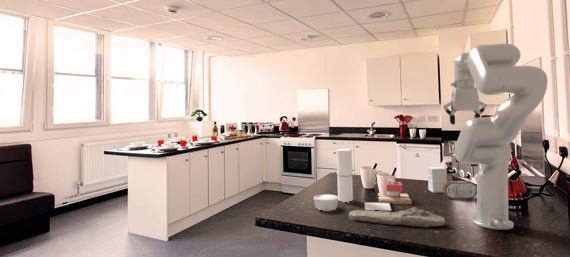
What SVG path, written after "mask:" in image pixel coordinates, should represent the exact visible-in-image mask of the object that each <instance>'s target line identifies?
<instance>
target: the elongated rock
mask: <svg viewBox="0 0 570 257" xmlns="http://www.w3.org/2000/svg"><path fill="white" fill-rule="evenodd" d="M348 219H349V220H351V221H360V222H367V223H373V224H382V225H383V224H384V225H391V226H392V225H402V226H407V227H409V226H410V227H420V228H421V227H422V228H430V227H442V226H445V223H446V219H445V218H444V217H443V216H440V215H437V214H436V213H435V214H434V213H433V212H431V211H428V210H426V211H425V210H424V209H419V208H417V207H416V206H415V207H410V208H408V209H405V210H399V211H375V210H362V209H355V210H351V211H349V212H348Z"/></svg>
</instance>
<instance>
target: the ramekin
mask: <svg viewBox="0 0 570 257" xmlns="http://www.w3.org/2000/svg"><path fill="white" fill-rule="evenodd" d="M313 201H314V202H313V203H314V207H315V209H316V208H317V209H318V210H317V209H316V210H317V211H320V210H323V211H322V212H331V211H332V210H333V211H335V210H336V209H337V208H338V202H339V201H338V195H335V194H328V193H327V194H316V195H314V196H313Z"/></svg>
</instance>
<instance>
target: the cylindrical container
mask: <svg viewBox="0 0 570 257" xmlns="http://www.w3.org/2000/svg"><path fill="white" fill-rule="evenodd" d="M352 152H353V150H352V149H350V148H340V149H336V166H337V167H336V168H337V169H336V171H337V172H336V174H337V176H336V177H337V196H338V200H339V201H342V202H341V203H345V202H347V203H350V202H349V201H352V200H353V201H354V194H353V193H354V192H353V190H354V188H353V160H352V159H353V156H352ZM339 201H338V202H339ZM353 201H352V202H353Z"/></svg>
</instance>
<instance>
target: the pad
mask: <svg viewBox="0 0 570 257" xmlns="http://www.w3.org/2000/svg"><path fill="white" fill-rule="evenodd" d="M390 204H391V203H380V202H364V211H366V210H367V211H375V210H379V211H382V212H383V211H385V212H392V207H391V205H390Z"/></svg>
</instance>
